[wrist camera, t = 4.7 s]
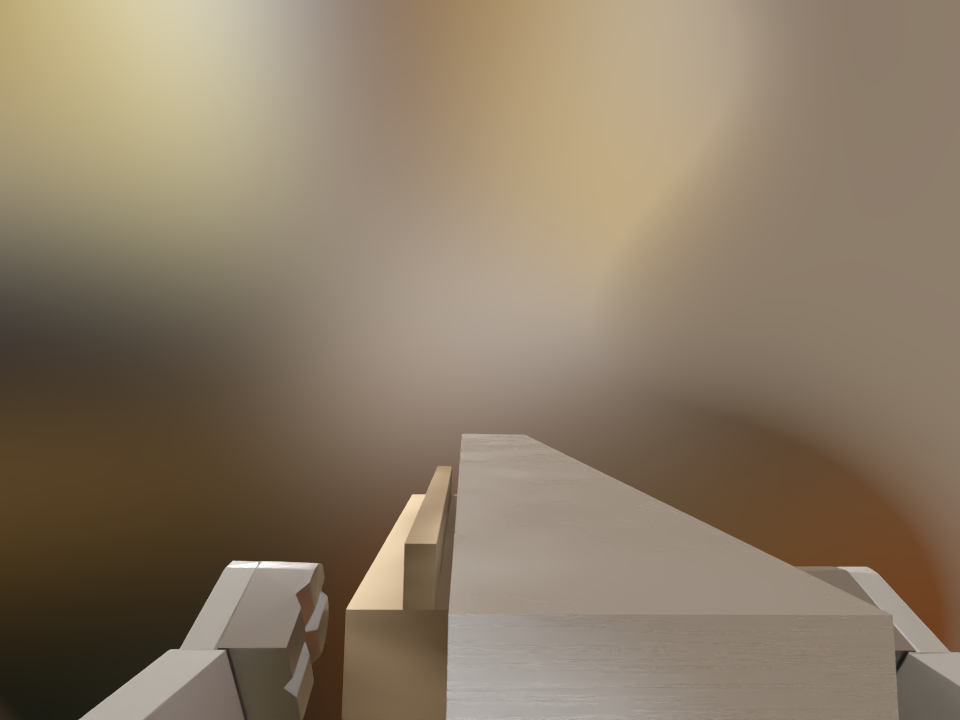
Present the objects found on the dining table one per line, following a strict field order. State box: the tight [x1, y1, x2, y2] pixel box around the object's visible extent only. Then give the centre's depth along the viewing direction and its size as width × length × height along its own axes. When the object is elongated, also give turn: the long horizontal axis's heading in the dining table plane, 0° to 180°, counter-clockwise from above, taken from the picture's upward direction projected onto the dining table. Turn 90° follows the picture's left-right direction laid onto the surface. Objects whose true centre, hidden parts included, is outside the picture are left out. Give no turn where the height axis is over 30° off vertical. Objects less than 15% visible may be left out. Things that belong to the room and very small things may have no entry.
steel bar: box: [446, 434, 899, 720], centre depth 16 cm, size 4×24×4 cm, turn 2°
